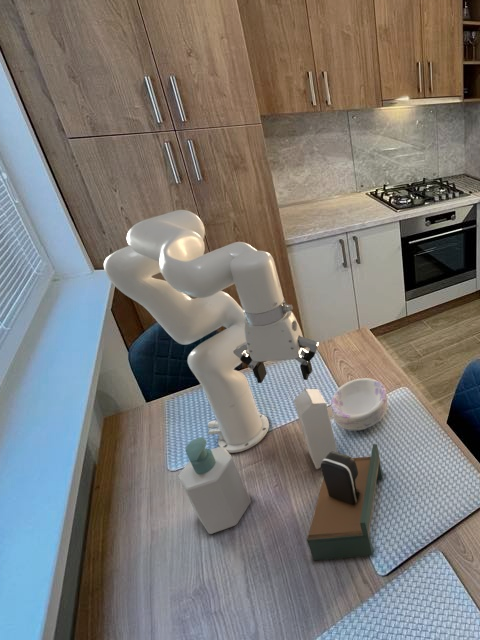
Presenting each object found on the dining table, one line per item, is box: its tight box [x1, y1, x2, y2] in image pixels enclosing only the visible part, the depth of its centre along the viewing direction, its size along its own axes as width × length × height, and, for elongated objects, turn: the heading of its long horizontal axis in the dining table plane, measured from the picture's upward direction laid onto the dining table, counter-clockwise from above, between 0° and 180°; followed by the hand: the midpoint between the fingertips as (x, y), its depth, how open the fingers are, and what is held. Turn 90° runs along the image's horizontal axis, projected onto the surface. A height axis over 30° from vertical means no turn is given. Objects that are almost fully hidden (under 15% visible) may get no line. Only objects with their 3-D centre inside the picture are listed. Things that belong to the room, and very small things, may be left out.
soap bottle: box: [177, 437, 251, 535], centre depth 88 cm, size 10×9×22 cm
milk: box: [293, 384, 339, 470], centre depth 100 cm, size 6×6×22 cm
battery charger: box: [320, 451, 360, 505], centre depth 86 cm, size 7×4×11 cm, turn 70°
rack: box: [306, 443, 384, 561], centre depth 89 cm, size 12×18×11 cm, turn 4°
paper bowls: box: [330, 377, 389, 432], centre depth 114 cm, size 15×15×8 cm
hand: (285, 377), depth 88 cm, fingers open, 9 cm apart
